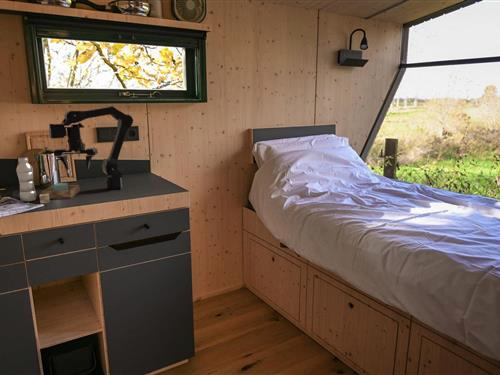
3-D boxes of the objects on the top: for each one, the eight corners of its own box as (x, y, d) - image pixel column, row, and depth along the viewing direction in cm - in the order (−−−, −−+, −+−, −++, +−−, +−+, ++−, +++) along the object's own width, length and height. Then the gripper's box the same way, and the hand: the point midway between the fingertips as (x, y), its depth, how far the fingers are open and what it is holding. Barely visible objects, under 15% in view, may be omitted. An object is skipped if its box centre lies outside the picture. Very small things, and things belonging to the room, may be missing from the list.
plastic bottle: (24, 199, 172) (18, 156, 168) (40, 199, 173) (34, 156, 168) (17, 203, 166) (10, 158, 161) (33, 202, 166) (27, 158, 162)
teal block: (68, 192, 182) (67, 182, 181) (65, 195, 177) (63, 185, 176) (57, 193, 181) (56, 183, 180) (53, 195, 177) (52, 185, 175)
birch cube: (49, 201, 170) (48, 193, 169) (49, 202, 167) (48, 195, 166) (40, 201, 168) (39, 194, 168) (40, 203, 165) (39, 196, 164)
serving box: (79, 191, 187) (78, 185, 186) (71, 198, 174) (70, 191, 173) (52, 192, 185) (51, 185, 184) (41, 199, 172) (40, 192, 172)
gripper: (98, 135, 186) (101, 166, 190) (59, 136, 184) (63, 167, 187) (93, 137, 176) (96, 170, 179) (51, 138, 173) (55, 171, 177)
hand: (77, 169), depth 181 cm, fingers open, 9 cm apart
